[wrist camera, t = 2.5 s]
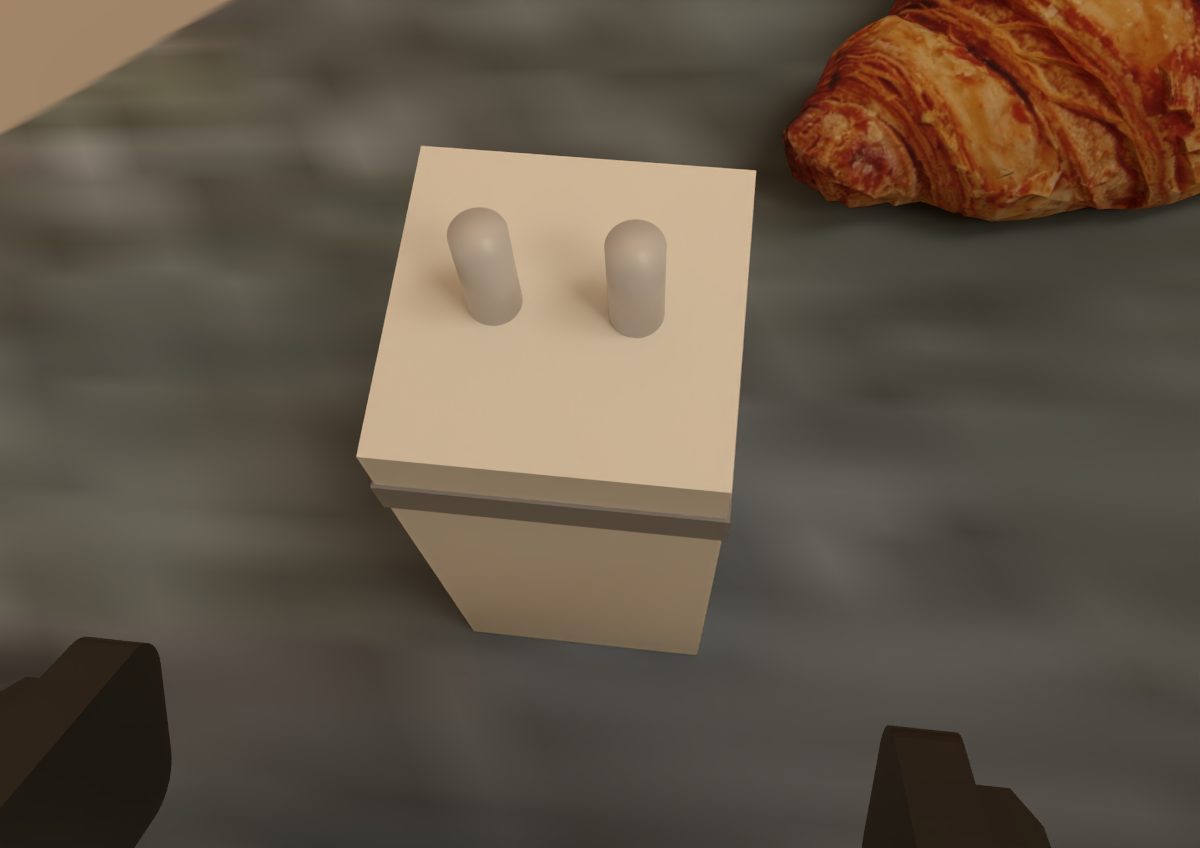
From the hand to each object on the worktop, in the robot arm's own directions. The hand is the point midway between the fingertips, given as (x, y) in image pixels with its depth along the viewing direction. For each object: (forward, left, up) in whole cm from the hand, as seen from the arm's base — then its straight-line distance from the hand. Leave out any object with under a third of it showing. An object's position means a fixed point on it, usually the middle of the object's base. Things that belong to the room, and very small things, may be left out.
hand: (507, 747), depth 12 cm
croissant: (-12, -19, -10) cm, 25 cm away
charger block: (0, -5, -10) cm, 11 cm away
